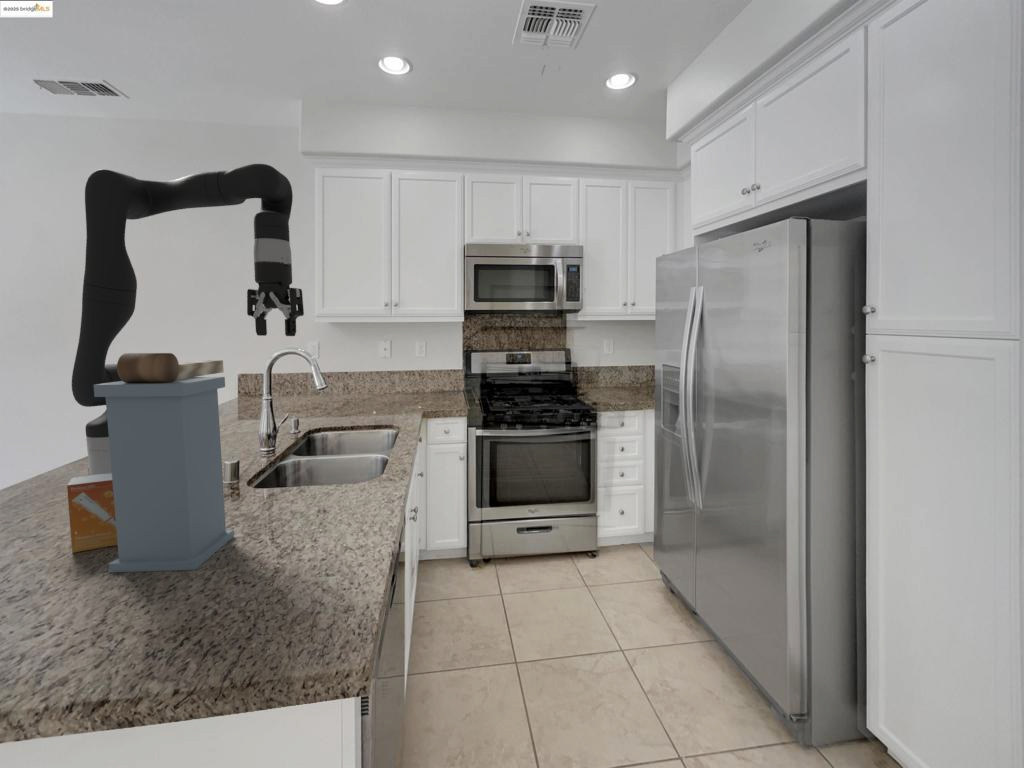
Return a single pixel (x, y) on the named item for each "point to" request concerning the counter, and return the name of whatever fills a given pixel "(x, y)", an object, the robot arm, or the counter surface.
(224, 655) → the counter surface
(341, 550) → the counter surface
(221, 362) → the mallet
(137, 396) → the stand
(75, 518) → the small box
